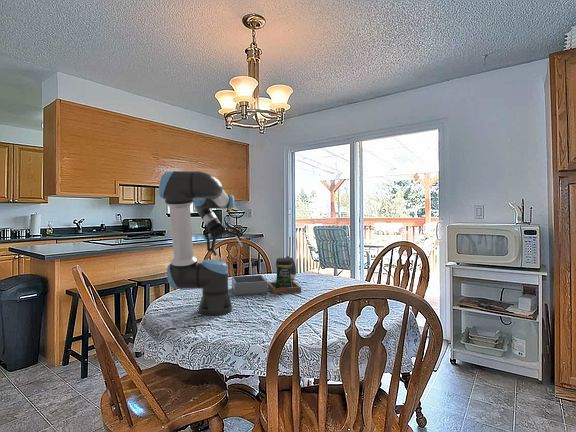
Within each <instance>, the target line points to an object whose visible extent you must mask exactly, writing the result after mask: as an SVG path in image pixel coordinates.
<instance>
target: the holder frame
mask: <svg viewBox="0 0 576 432" xmlns="http://www.w3.org/2000/svg"><path fill="white" fill-rule="evenodd" d="M268 290H269V291H270V292H271V293H272V295H281V294H292V293H293V294H297V293H302V286H300V285H299V284H298V283H297V282H296V281H295V280H292V287H286V288H276V281H268Z"/></svg>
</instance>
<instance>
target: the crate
mask: <svg viewBox="0 0 576 432" xmlns="http://www.w3.org/2000/svg"><path fill="white" fill-rule="evenodd" d="M268 282H269V281H268V280H267V279H266V278H265V277H264V276H263V274H257V275H255V274H254V275H253V274H252V275H241V276H240V275H239V276H238V275H237V276H234V275H233V276H231V290H232V293H233V296H234V297H245V296H259V295H268V294H269V292H268V290H269V288H268Z"/></svg>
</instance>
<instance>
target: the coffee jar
mask: <svg viewBox="0 0 576 432" xmlns="http://www.w3.org/2000/svg"><path fill="white" fill-rule="evenodd" d="M275 268H276V278H275V279H276V281H275V282H276V287H275V288H286V287H293V286H292V281H293V279H291V268H292V260H291V258H286V257H278V258H276V262H275Z"/></svg>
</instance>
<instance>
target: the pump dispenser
mask: <svg viewBox="0 0 576 432" xmlns="http://www.w3.org/2000/svg"><path fill="white" fill-rule="evenodd" d="M285 258H291V260H292V268H291V279H292V280H293V279H295V278H296V277H297V271H298V270H297V266H296V263H295V262H296V261H295V260H294V258H293V257H292V256H291V255H288V256H286V257H285Z"/></svg>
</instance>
